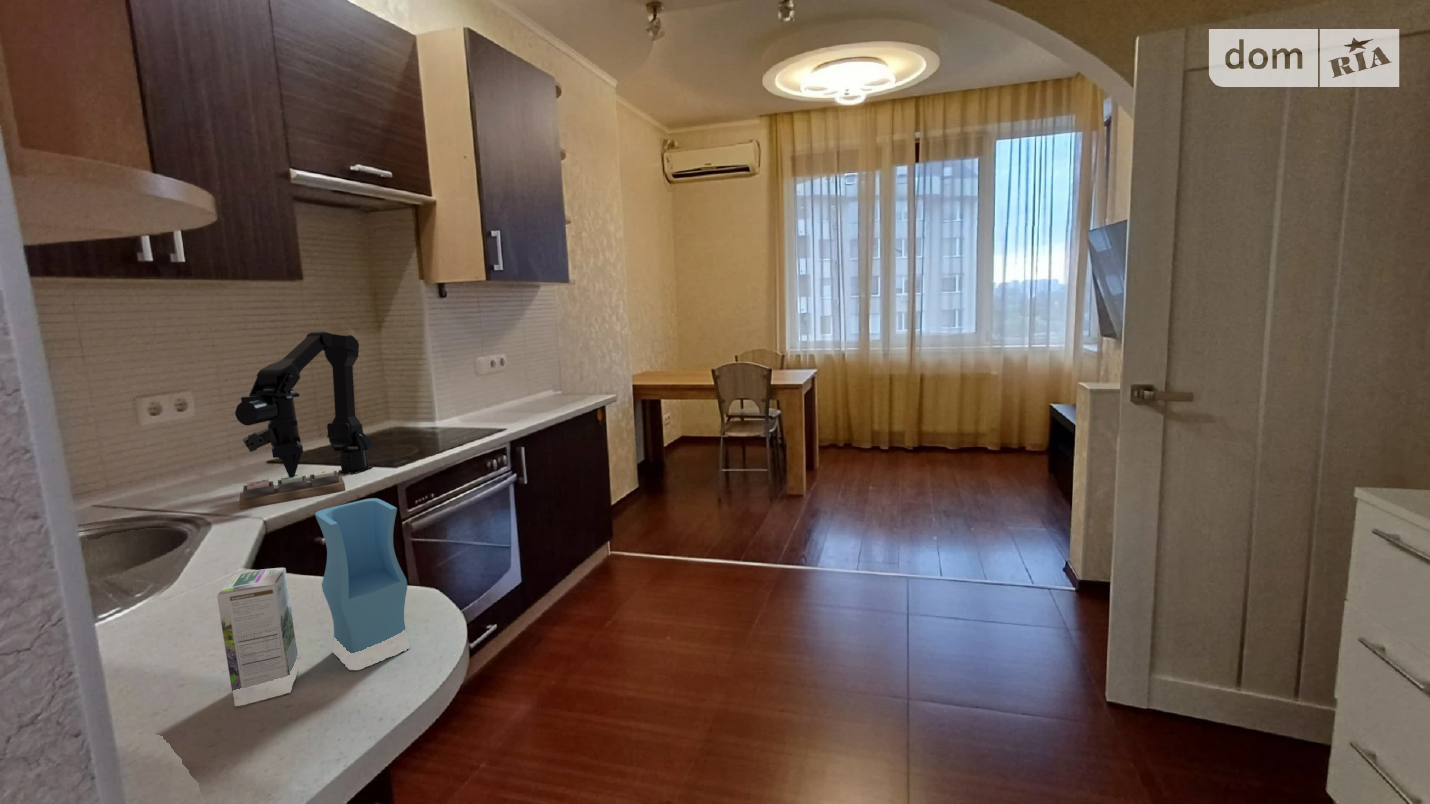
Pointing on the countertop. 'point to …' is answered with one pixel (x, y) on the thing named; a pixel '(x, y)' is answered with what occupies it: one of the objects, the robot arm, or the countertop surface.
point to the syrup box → (257, 627)
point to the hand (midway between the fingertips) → (291, 477)
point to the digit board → (290, 491)
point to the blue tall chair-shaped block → (362, 573)
